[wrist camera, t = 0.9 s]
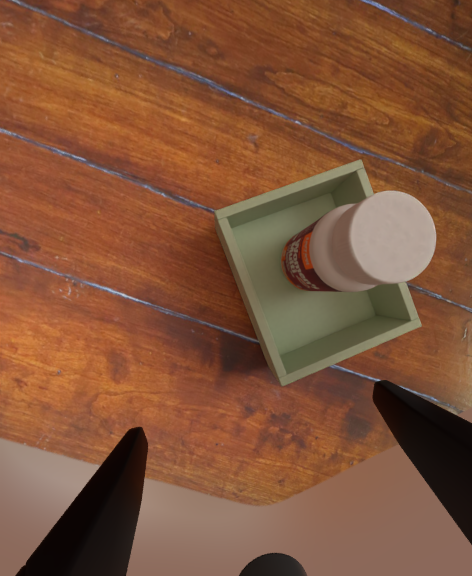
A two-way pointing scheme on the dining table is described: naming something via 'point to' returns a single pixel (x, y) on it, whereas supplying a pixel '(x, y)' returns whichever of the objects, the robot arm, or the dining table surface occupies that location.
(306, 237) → the pill bottle
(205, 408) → the dining table surface
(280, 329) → the open box
